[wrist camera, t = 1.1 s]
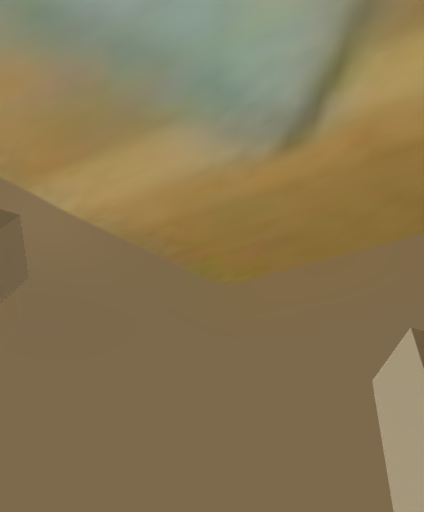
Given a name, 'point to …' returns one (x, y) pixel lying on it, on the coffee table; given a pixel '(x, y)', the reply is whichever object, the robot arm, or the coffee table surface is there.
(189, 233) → the coffee table surface
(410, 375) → the robot arm
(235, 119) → the coffee table surface
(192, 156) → the coffee table surface
